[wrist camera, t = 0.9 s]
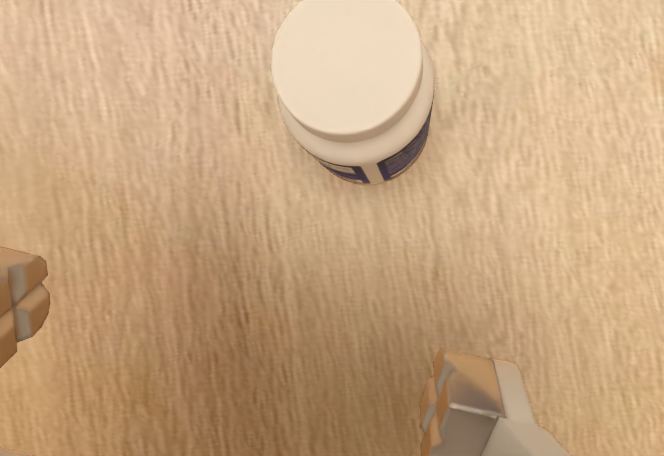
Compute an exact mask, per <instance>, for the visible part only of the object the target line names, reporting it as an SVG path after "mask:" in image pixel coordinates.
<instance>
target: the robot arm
mask: <svg viewBox="0 0 664 456" xmlns="http://www.w3.org/2000/svg"><path fill="white" fill-rule="evenodd" d="M47 276H48V271H47V264H46V261H45V260H44V259H43V258H42V257H41V256H37V255H33V254H29V253H25V252H21V251H17V250H13V249H9V248H5V247H1V246H0V368H1V367H2V366H3V365H4V364H5V363H6V362H7V361H8V360H9V359H10V358H11V357H12V356H13V355H14V354H15V353H16V352H17V342H20V341H23V340H25V339H28V338H31V337H33V336H34V335H35V334H36V332H37V331H38V330H39V329H40V328H41V327H42V325H43V323H44V321H45V320H46V318H47V316H48V313H49V307H50V293H49V292H48V290H47V289H46V288H45V286H44V285H43V284H42V281H43V280H44V279H45V278H46V277H47ZM433 368H434V376H432V377H431V378H429V379H427V382H426V385H425V388H424V391H423V395H422V400H421V405H420V428H421V429H422V430H423V432H424V433H425V435H424V437H423V440H422V443H421V456H572V455H571V454H570V453H569V452H568V451H567V450H566V449H565V448H564V447H563V446H562V445H561V444H560V443H559V442H558V441H557V440H556V439H555V438H554V437H553V436H552V435H551V434H550V433H549V432H548V431H547V430H546V429H545V428H544V427H540V426H537V425H536V421H535V418H534V415H533V412H532V408H531V405H530V402H529V399H528V395H527V392H526V389H525V385H524V382H523V379H522V376H521V372H520V369H519V366H518V365H517V364H516V363H514V362H509V361H504V360H499V359H494V358H485V357H481V356H476V355H472V354H467V353H463V352H458V351H454V350H449V349H445V348H440V349H439V350H438V352H437V354H436V357H435V359H434V362H433ZM0 456H35V455H30V454H26V453H22V452H18V451H14V450H9V449H5V448H1V447H0Z"/></svg>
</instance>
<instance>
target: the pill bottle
mask: <svg viewBox="0 0 664 456" xmlns="http://www.w3.org/2000/svg"><path fill="white" fill-rule="evenodd" d="M271 74H272V79H273V84H274V87H275V90H276V92H277V99H278V105H279V109H280V112H281V115H282V118H283V120H284V123H285V125H286V127H287V128H288V130H289V132H290V133H291V135H292V136H293V137H294V139H295V140H296V141H297V142H298V143H299V144H300V146H301V147H303V148H304V149H305V150H306V151H307V152H308V153H309V154H311V155H312V156H313V157H314V158H315V159H316V160H318V161H319V162H320V163H321V164H322V165H323V166H324V167H326V168H327V169H328V170H329V171H330V172H331V173H333V174H334V175H336V176H338V177H340V178H342V179H344V180H346V181H349V182H352V183H356V184H366V185H369V184H378V183H383V182H386V181H389V180H392V179H394V178H396V177H398V176H399V175H401V174H402V173H404V172H405V171H406V170H407V169H409V168H410V167H411V166H412V164H413V163H414V162H415V161H416V160H417V158H418V157H419V155H420V154H421V152H422V150H423V148H424V145H425V142H426V139H427V136H428V130H429V123H430V117H431V110H432V104H433V98H434V72H433V66H432V62H431V59H430V56H429V54H428V51H427V49H426V47H425V45H424V43H423V42H422V40H421V38H420V34H419V31H418V29H417V26H416V24H415V22H414V20H413V18H412V16H411V15H410V14H409V12H408V11H407V9H406V8H405V7H404V6H403V5H402V4H401V3H400V2H399V1H398V0H302V1H300V2H299V3H298V4H297V5H296V6H295V7H294V8H293V9H292V10H291V11H290V12H289V13H288V15H287V16H286V17H285V19H284V20H283V22H282V24H281V26H280V27H279V30H278V32H277V34H276V37H275V39H274V43H273V47H272V53H271Z"/></svg>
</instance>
